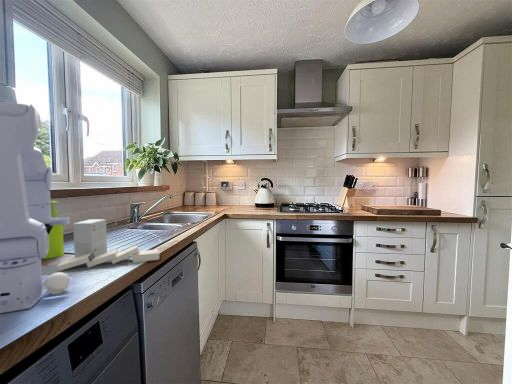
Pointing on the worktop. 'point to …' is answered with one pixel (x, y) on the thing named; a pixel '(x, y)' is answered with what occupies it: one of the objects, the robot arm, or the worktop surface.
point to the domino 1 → (76, 261)
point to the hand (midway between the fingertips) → (39, 250)
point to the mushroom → (57, 283)
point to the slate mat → (84, 267)
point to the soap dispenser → (55, 236)
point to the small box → (90, 237)
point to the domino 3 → (125, 254)
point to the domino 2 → (103, 258)
